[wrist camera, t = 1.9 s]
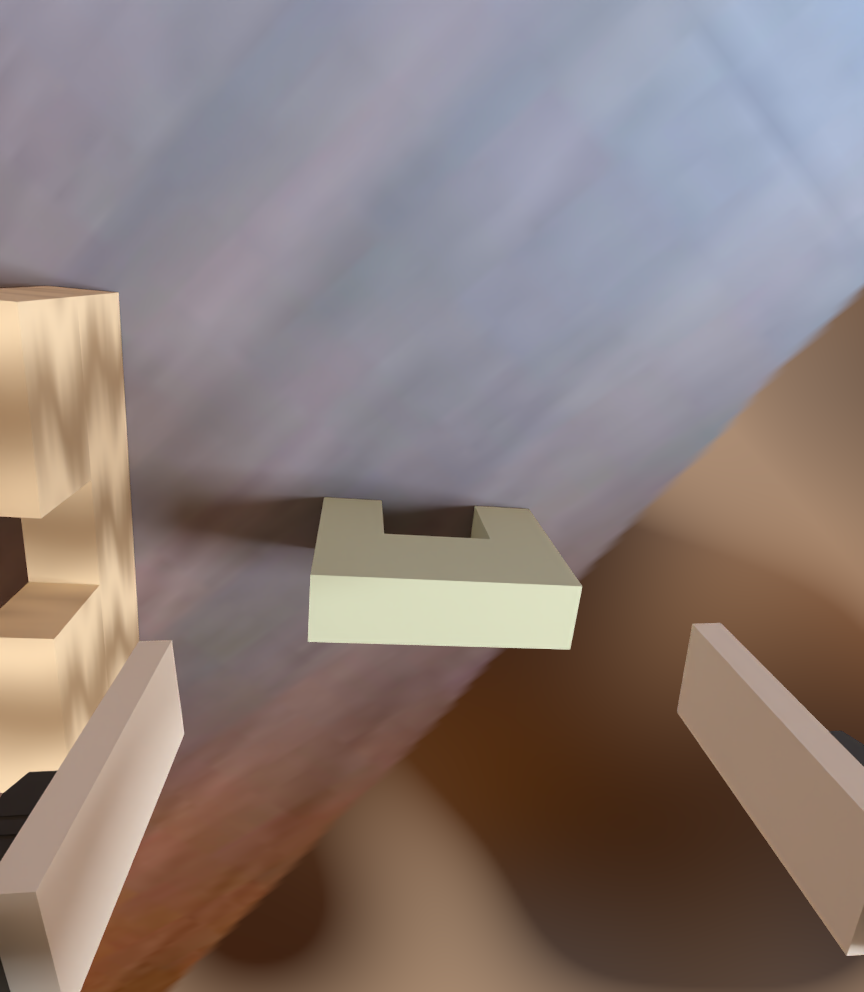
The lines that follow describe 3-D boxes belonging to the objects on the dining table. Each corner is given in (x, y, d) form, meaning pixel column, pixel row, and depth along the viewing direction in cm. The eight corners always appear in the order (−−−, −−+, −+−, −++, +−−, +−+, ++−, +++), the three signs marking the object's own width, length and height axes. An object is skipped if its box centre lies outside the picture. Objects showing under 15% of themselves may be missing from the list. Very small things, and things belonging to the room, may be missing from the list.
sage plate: (321, 549, 34) (307, 641, 26) (324, 497, 33) (310, 574, 25) (520, 559, 36) (569, 649, 27) (528, 509, 35) (582, 586, 26)
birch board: (140, 668, 35) (70, 792, 27) (83, 666, 35) (-6, 792, 27) (118, 292, 29) (17, 302, 20) (48, 285, 29) (-85, 292, 20)
